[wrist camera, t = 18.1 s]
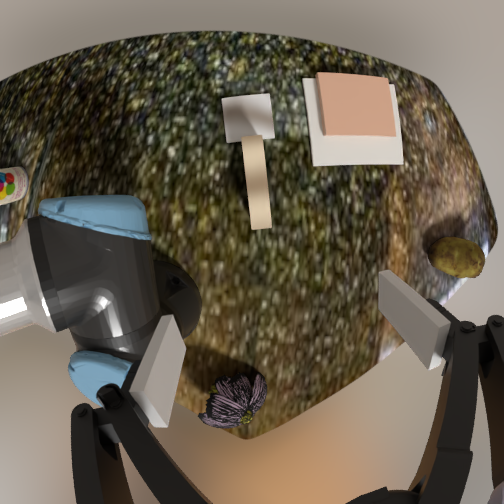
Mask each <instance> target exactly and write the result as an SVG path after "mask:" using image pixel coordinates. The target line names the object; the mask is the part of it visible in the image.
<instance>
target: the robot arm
mask: <svg viewBox="0 0 504 504" xmlns="http://www.w3.org/2000/svg"><path fill="white" fill-rule="evenodd" d="M38 212H39V214H41V215H39V216H36V217H32V218H29V219H25V220H24V222H23V223H22V225H21V227H20V229H19V230H18V232H17V234H16V236H15V237H14V238H13V239H12V240H9V241H5V242H2V243H0V336H2V335H5V334H8V333H10V332H13V331H16V330H19V329H22V328H24V327H27V326H30V325H33V324H37V325H40V326H42V327H44V328H46V329H47V330H49V331H51V332H53V333H56V332H59V331H62V330H64V329H67V328H69V329H70V332H71V334H72V337H73V340H74V342H75V345H76V352H75V353H74V354H72V355H71V357H70V363H69V365H68V372H69V375H70V377H71V380H72V381H73V383H74V384H75V386H76V387H77V388H78V389H79V390H80V391H81V392H82V393H83V394H84V395H85V396H86V397H88V398H89V399H90V400H91V401H93V402H94V403H96V404H98V405H100V406H101V408H97V409H93V408H92V407H91V406H90V405H89V404H87V403H82V404H79V405H77V406H76V407H75V408H74V409H73V411H72V414H71V449H72V450H71V451H72V469H73V479H74V488H75V496H76V503H77V504H134V502H133V499H132V496H131V493H130V489H129V486H128V482H127V478H126V475H125V471H124V467H123V462H122V458H121V453H120V449H119V444H118V443H119V442H121V443H122V445H123V447H124V448H125V450H126V452H127V454H128V455H129V457H130V459H131V461H132V462H133V464H134V466H135V467H136V469H137V470H138V472H139V474H140V475H141V476H142V478H143V480H144V481H145V482H146V484H147V486H148V487H149V489H150V490H151V491H152V493H153V494H154V496H155V497H156V498H157V500H158V501H159V502H160V504H213V503H211V501H210V500H208V498H207V497H206V496H205V495H204V494H203V493H201V491H200V490H199V489H198V488H197V487H196V486H195V485H194V484H193V483H192V482H191V480H190V479H189V478H188V477H187V476H186V475H185V474H184V473H183V472H182V470H181V469H180V468H179V467H178V465H177V464H176V463H175V462H174V461H173V459H172V458H171V457H170V456H169V455H168V453H167V452H166V451H165V449H164V448H163V447H162V445H161V444H160V443H159V441H158V440H157V439H156V437H155V436H154V435H153V433H152V432H151V430H150V429H149V428H148V423H149V421H150V422H151V424H152V425H153V426H154V427H168V424H169V419H170V415H171V411H172V406H173V402H174V398H175V393H176V389H177V385H178V381H179V376H180V372H181V368H182V364H183V360H184V356H185V352H186V347H185V344H184V342H183V339H184V338H186V337H187V336H189V335H190V334H191V333H192V332H193V330H194V329H195V328H196V326H197V324H198V321H199V318H200V315H201V310H202V301H201V296H200V293H199V290H198V288H197V286H196V284H195V283H194V281H193V280H192V279H191V278H190V277H189V276H188V275H187V274H186V273H185V272H184V271H183V270H181V269H180V268H178V267H176V266H174V265H172V264H170V263H167V262H163V261H153V257H152V249H151V241H150V240H151V239H152V237H151V234H149V230H148V224H147V218H146V211H145V207H144V205H143V203H142V202H141V201H140V200H139V199H138V198H136V197H134V196H130V195H91V196H72V197H61V198H52V199H44V200H42V201H41V202H40V206H39V209H38ZM378 309H379V310H380V311H381V313H382V314H383V315H384V316H385V317H386V318H387V320H388V321H389V322H390V323H391V324H392V326H393V327H394V328H395V329H396V330H397V332H398V333H399V334H400V335H401V336H402V338H403V339H404V340H405V341H406V343H407V344H408V345H409V346H410V348H411V349H412V350H413V351H414V352H415V354H416V355H417V356H418V358H419V359H420V360H421V362H422V363H423V364H424V365H425V367H426V368H427V369H428V370H431V369H433V368H435V367H437V366H439V365H440V363H441V359H442V357H443V358H444V359H445V360H446V364H445V366H444V369H443V372H442V376H443V380H442V385H441V390H440V395H439V400H438V405H437V409H436V413H435V418H434V421H433V425H432V428H431V432H430V436H429V439H428V442H427V445H426V448H425V452H424V454H423V457H422V460H421V463H420V466H419V468H418V471H417V473H416V476H415V478H414V480H413V481H412V483H411V485H410V487H409V489H408V491H407V490H389V491H388V490H387V487H383V488H381V489H378V490H375V491H373V492H370V493H367V494H364V495H361V496H359V497H357V498H355V499H353V500H351V501H350V502H348V503H346V504H460V501H461V498H462V495H463V492H464V489H465V485H466V482H467V478H468V474H469V471H470V466H471V462H472V457H473V452H472V451H470V444H471V438H472V433H473V427H474V419H475V411H476V403H477V390H478V374H479V377H480V382H481V386H482V391H483V396H484V402H485V407H486V413H487V420H488V427H489V435H490V446H491V465H492V480H493V486H494V491H493V492H492V494H491V497H490V500H489V501H488V504H504V318H503V317H502V316H499V315H492V316H490V317H489V318H488V320H487V324H486V325H482V326H476V325H475V324H474V323H472V322H469V321H461V322H460V321H459V320H458V319H456V317H454V316H453V315H452V314H451V313H450V312H449V311H447V310H446V309H445V308H444V307H442V305H441V304H439V303H438V302H437V301H435V300H432V299H430V298H429V299H426V300H425V299H424V298H423V297H422V296H420V295H419V294H418V293H417V292H416V291H414V290H413V289H412V288H411V287H410V286H409V285H407V284H406V283H405V282H404V281H402V280H401V279H400V278H399V277H398V276H396V275H395V274H394V273H393V272H391V271H390V270H385V271H381V272H379V304H378Z"/></svg>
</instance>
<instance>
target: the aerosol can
mask: <svg viewBox="0 0 504 504" xmlns="http://www.w3.org/2000/svg"><path fill="white" fill-rule="evenodd" d="M28 185H29V181H28V174H27V172H26V170H25V169H24V168H23V167H21V166H20V167H12V168H5V169H0V205H3V204H6V203H10V202H13V201H17V200H20V199H22V198H24V196H25V195H26V193H27V190H28Z"/></svg>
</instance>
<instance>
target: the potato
mask: <svg viewBox="0 0 504 504" xmlns="http://www.w3.org/2000/svg"><path fill="white" fill-rule="evenodd" d="M428 259H429V261H430V263H431V265H432V266H433V267H435V268H437V269H439V270H441V271H443V272H445V273H448V274H450V275H452V276H455V277H458V278H465V277H468V278H476V276H479V275H480V273H481V272H482V269H483V266H484V264H485V255H484V252H483V251H482V249H481V248H480V247H479V246H478V245H477V244H476V243H474V242H472V241H469V240H466V239H461V238H457V237H444V238H441V239H439V240H438V241H436V242H435V243H434V244H433V245H432V246H431V247H430V249H429V252H428Z"/></svg>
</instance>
